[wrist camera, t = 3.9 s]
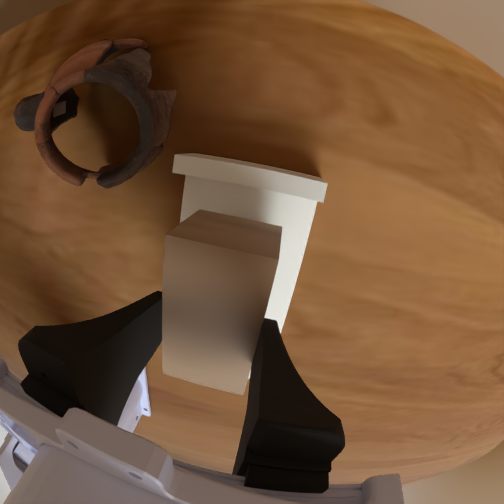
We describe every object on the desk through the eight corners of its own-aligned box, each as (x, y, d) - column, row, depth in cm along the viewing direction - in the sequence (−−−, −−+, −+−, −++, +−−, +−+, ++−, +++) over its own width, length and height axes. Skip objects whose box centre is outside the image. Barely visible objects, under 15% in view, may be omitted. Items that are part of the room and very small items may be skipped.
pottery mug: (191, 27, 14) (169, 35, 8) (187, 141, 21) (173, 205, 15) (43, 53, 12) (-25, 89, 7) (59, 150, 19) (15, 212, 14)
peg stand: (271, 355, 21) (268, 382, 18) (176, 332, 22) (162, 355, 19) (321, 177, 16) (327, 183, 13) (193, 152, 16) (174, 154, 14)
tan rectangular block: (254, 343, 18) (243, 395, 13) (187, 327, 18) (162, 373, 14) (282, 226, 15) (278, 259, 10) (199, 209, 15) (165, 234, 11)
